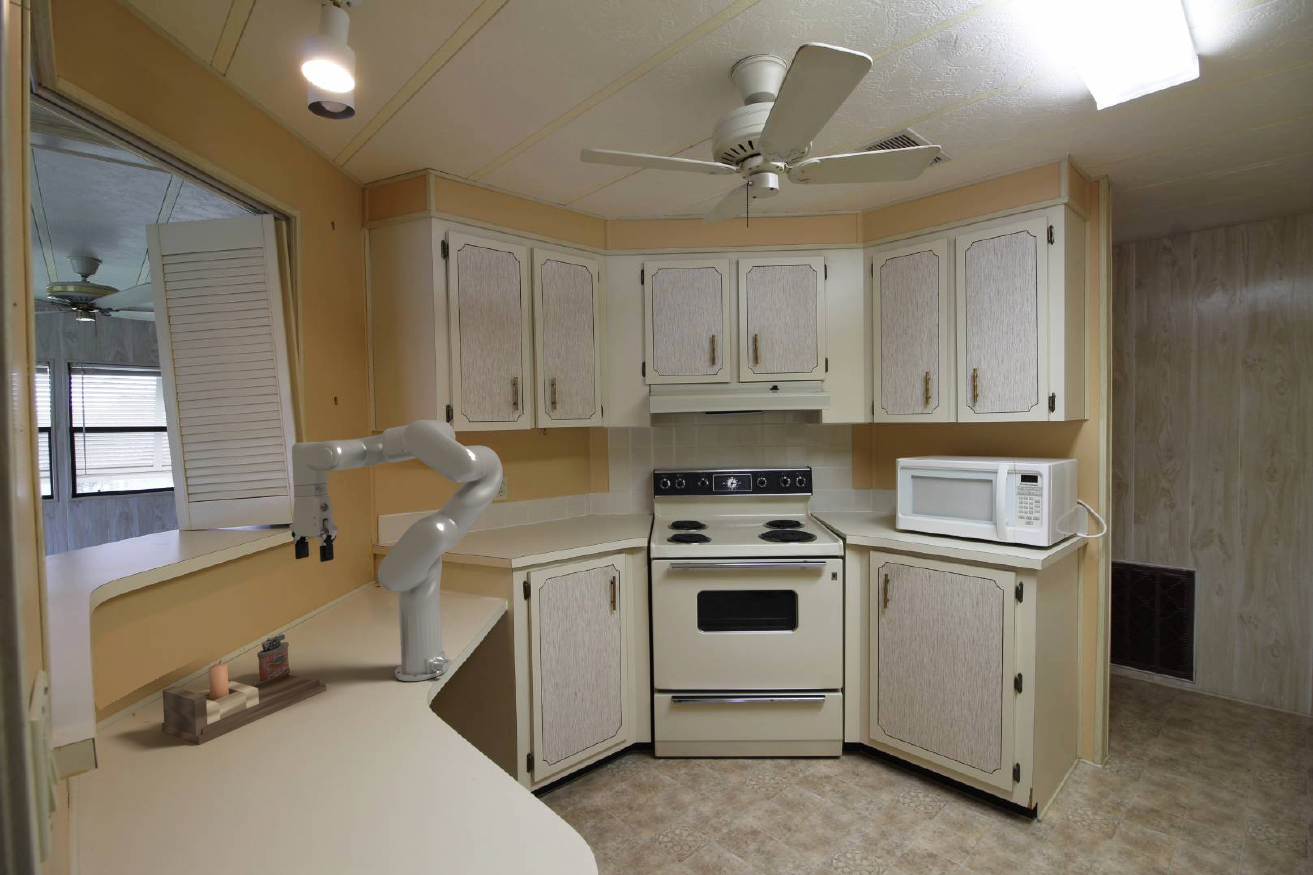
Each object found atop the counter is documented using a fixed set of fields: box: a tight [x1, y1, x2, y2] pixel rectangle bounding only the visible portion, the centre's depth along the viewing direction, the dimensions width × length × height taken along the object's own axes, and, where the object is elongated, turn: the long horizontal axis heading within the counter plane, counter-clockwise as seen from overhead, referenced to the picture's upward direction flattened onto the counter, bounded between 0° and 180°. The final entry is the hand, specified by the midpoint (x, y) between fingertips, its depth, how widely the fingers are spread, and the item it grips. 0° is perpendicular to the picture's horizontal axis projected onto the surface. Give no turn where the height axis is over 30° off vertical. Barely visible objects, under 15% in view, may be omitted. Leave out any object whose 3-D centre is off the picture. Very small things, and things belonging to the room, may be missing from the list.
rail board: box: [161, 672, 327, 746], centre depth 131 cm, size 14×26×8 cm, turn 153°
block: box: [196, 680, 259, 725], centre depth 126 cm, size 10×10×4 cm
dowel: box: [208, 663, 229, 701], centre depth 126 cm, size 3×3×10 cm
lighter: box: [256, 633, 291, 683], centre depth 147 cm, size 8×3×10 cm, turn 168°
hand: (314, 559), depth 150 cm, fingers open, 9 cm apart
